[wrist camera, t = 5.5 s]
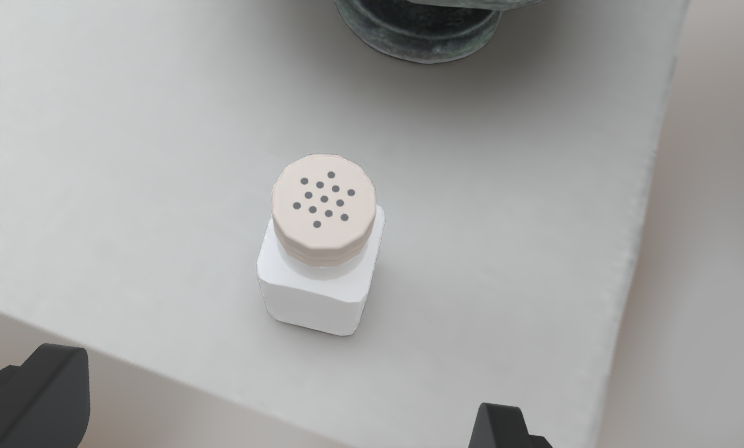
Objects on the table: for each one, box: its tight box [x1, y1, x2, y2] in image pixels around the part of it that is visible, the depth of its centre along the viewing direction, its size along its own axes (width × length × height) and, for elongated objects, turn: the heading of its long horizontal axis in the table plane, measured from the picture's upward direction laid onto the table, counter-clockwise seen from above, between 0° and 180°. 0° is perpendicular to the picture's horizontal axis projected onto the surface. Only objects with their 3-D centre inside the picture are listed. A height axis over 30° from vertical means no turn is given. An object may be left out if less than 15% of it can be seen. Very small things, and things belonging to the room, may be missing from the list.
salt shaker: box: [256, 154, 386, 336], centre depth 22 cm, size 4×4×10 cm
